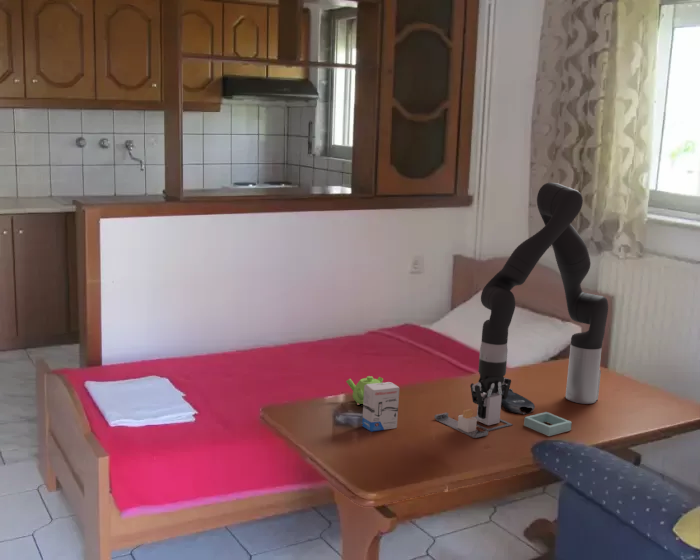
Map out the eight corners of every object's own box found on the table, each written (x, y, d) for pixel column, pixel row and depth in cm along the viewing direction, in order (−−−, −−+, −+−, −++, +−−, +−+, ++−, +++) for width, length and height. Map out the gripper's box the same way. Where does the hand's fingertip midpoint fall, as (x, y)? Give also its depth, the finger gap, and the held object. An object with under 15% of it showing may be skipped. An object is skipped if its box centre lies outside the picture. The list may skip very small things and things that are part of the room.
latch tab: (465, 425, 222) (467, 406, 221) (475, 430, 219) (477, 411, 218) (457, 427, 221) (459, 408, 220) (467, 432, 217) (469, 413, 216)
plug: (488, 417, 230) (490, 386, 228) (499, 422, 226) (502, 391, 224) (476, 420, 227) (478, 388, 225) (488, 425, 224) (490, 393, 222)
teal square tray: (545, 420, 231) (546, 411, 230) (570, 430, 224) (571, 421, 223) (523, 425, 226) (524, 417, 225) (548, 436, 218) (549, 427, 218)
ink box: (370, 432, 215) (372, 389, 213) (361, 426, 220) (363, 384, 218) (397, 428, 219) (400, 386, 217) (388, 422, 224) (391, 381, 221)
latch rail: (446, 416, 230) (446, 412, 230) (487, 436, 217) (488, 431, 216) (434, 419, 227) (434, 414, 227) (475, 439, 214) (476, 434, 214)
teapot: (392, 410, 233) (394, 382, 232) (354, 412, 230) (355, 383, 229) (381, 397, 244) (382, 370, 242) (344, 399, 241) (345, 371, 239)
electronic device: (485, 404, 247) (513, 414, 233) (487, 386, 247) (516, 395, 233) (510, 406, 251) (540, 416, 237) (513, 388, 251) (542, 397, 237)
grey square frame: (488, 414, 233) (488, 413, 233) (512, 425, 225) (512, 424, 225) (463, 420, 228) (463, 419, 228) (487, 431, 220) (487, 430, 220)
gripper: (484, 364, 216) (479, 425, 219) (521, 357, 224) (516, 416, 227) (464, 357, 222) (460, 416, 225) (501, 350, 230) (497, 408, 233)
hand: (488, 416), depth 226 cm, fingers closed on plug, 4 cm apart
